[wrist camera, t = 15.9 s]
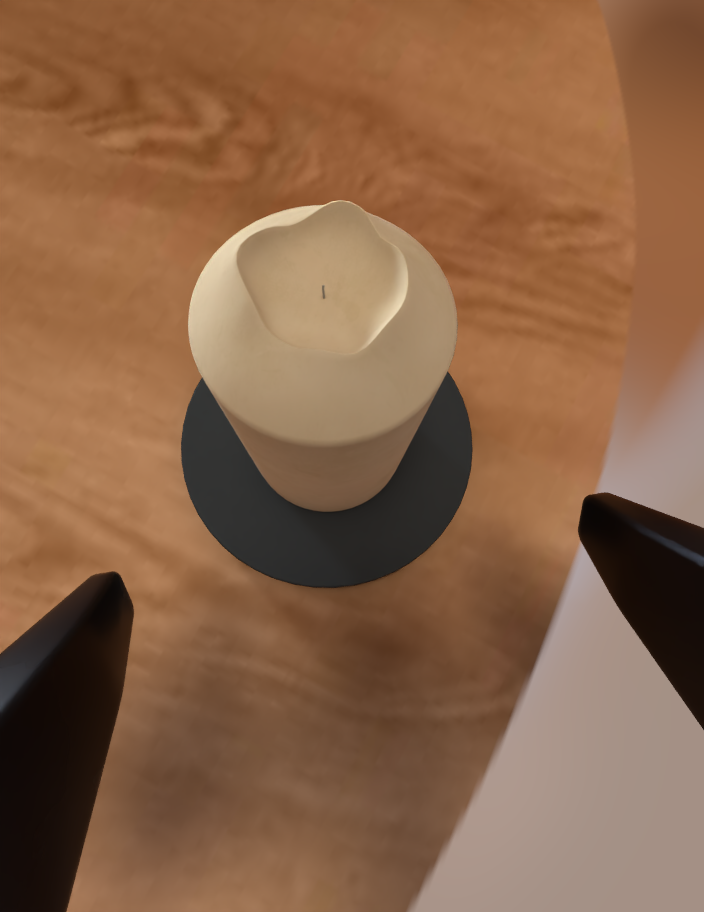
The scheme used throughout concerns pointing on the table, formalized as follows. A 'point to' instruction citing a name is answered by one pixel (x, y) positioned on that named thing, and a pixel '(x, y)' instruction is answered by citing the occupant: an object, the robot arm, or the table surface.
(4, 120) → the table surface
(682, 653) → the robot arm
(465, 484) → the mat
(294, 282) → the candle
